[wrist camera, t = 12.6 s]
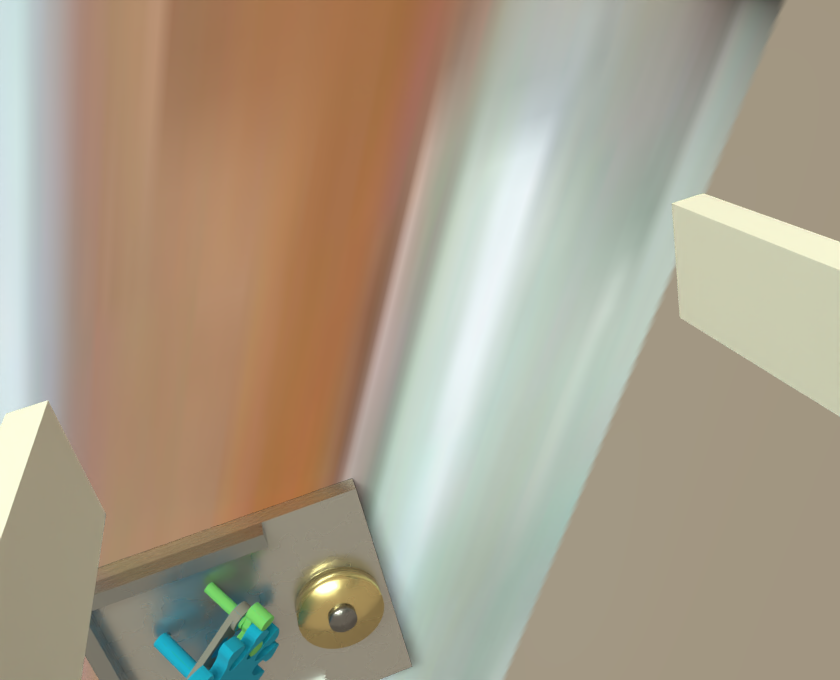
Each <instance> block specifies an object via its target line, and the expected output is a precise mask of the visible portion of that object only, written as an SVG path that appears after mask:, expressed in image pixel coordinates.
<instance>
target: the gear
mask: <svg viewBox="0 0 840 680" xmlns="http://www.w3.org/2000/svg"><path fill="white" fill-rule="evenodd" d="M204 592H205V593H206V594H207V595H208V596H209V597H210V598H211V599H213V600H214V601H215V602H216V603H217V604H218V605H219V606H220V607H221V608H222V609H223V610H224V611H225V612H226V613H227V614H229V616H228V617H227V619H226V620H225V622H224V623H223V624H222V626H221V627H220V629H219V630H218V632H217V633H216V635H215V636H214V638H213V639H212V641H211V642H210V644H209V645H208V647H207V648H206V650H205V651H204V653H203V654H202V656H201V657H200V659H199V660H198V662H196V661H195V660H194V659H193V658H192V657H191V656H190V655H189V654H188V653H187V652H186V651H185V650H184V649H183V648H182V647H181V646H180V645H179V644H178V643H177V642H176V641H175V640H174V639H173V638H172V637H171V636H170V635H169V634H168V633H163V634H162V635H160V636H159V637H158V638H157V640H156V641H155V642H154V647H155V648H156V649H157V650H158V651H159V652H160V653H161V654H162V655H163V656H164V657H165V658H166V659H167V660H168V661H169V662H170V663H171V664H172V665H173V666H174V667H175V668H176V669H177V670H178V671H179V672H180V673H181V674H182V675H183V676H184V677H185V678H186V680H259V679H260V677H261V676H262V675H263V673H264V672H265V671H264V670H263V669H262V668H261V667H260V666H259V665H258V664H259V663H260V662H261V661H262V660H264V661H265V662H266V661H268V660H269V659H270V658H271V657H272V656H273V654H274V653H275V651H276V649H277V647H278V645H279V644H278V643H277V642H276V641H275V640H276V639H277V637H278V635H279V628H278V627H277V626H275V625H274V624H273V623H272V621H273V620H274V616H273V615H272V614H271V613H270V612H268V611H267V610H266V609H265V608H264V607H263V606H262V605H261V604H260V603H259V602H256V603H255V604H253V605H252V606H250V605H249V604H248V603H247V602H246V601H243V602H241V603H240V604H238V605H237V604H236V603H235V602H234V601H233V600H232V599H231V598H230V597H229V596H227V595H226V594H225V593H224V592H223V591H222V590H221V589H220V588H219V587H218V586H217V585H216V584H214V583H213V582H211V583H210V584H209V585H208V586H207V587H206V588H205V590H204ZM240 629H242V631H241V632H240V633H239V635H238V636H237V637H236V636H234V637H233V635H234V634H235V632H236V631H238V630H240Z"/></svg>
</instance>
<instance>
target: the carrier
mask: <svg viewBox="0 0 840 680" xmlns="http://www.w3.org/2000/svg"><path fill="white" fill-rule="evenodd" d="M211 582H213V583H214V584H216V585H217V586H218V587H219V588H220V589H221V590H222V591H223V592H224V593H225V594H226V595H227V596H229V597H230V598H231V599H232V600H233V601H234V602H235V603H236V604H237V605H238V604H240V603H241V602H243V601H246V602H247V603H248V604H249V605H250V606H252V605H253V604H255V603H256V602H259V603H260V604H261V605H262V606H263V607H264V608H265V609H266V610H267V611H268V612H270V613H271V614H272V615H273V616H274V620H273V621H272V623H273V624H274V625H275V626H277V627H278V628H279V635H278V637H277V639H276V640H275V641H276V642H277V643H278V644H279V645H278V647H277V649H276V651H275V653H274V654H273V656H272V657H271V658H270V659H269V660H268V661H266V662H265V661H264V660H262V661H261V662H260V663H259V664H258V665H259V666H260V667H261V668H262V669H263V670H264V671H265V672H264V673H263V675H262V676H261V677H260V679H259V680H379V679H382V678H384V677H387V676H389V675H392V674H394V673H397V672H399V671H402V670H404V669H407V668H409V667H412V664H411V661H410V658H409V655H408V652H407V649H406V645H405V642H404V639H403V636H402V633H401V630H400V627H399V623H398V620H397V617H396V614H395V611H394V608H393V604H392V601H391V598H390V595H389V592H388V589H387V585H386V582H385V579H384V576H383V573H382V570H381V567H380V563H379V560H378V557H377V554H376V551H375V548H374V544H373V541H372V538H371V535H370V532H369V529H368V526H367V522H366V519H365V516H364V513H363V510H362V507H361V503H360V500H359V497H358V494H357V491H356V488H355V485H354V482H353V480H352V479H349V480H346V481H343V482H340V483H337V484H335V485H332V486H329V487H326V488H323V489H320V490H318V491H315V492H312V493H309V494H306V495H303V496H301V497H298V498H295V499H292V500H289V501H287V502H284V503H281V504H278V505H275V506H272V507H270V508H267V509H264V510H261V511H258V512H255V513H253V514H250V515H247V516H244V517H241V518H238V519H236V520H233V521H230V522H227V523H224V524H221V525H219V526H216V527H213V528H210V529H207V530H204V531H202V532H199V533H196V534H193V535H190V536H188V537H185V538H182V539H179V540H176V541H173V542H171V543H168V544H165V545H162V546H159V547H156V548H154V549H151V550H148V551H145V552H142V553H139V554H137V555H134V556H131V557H128V558H125V559H122V560H120V561H117V562H114V563H111V564H108V565H105V566H103V567H100V568H98V571H97V578H96V585H95V591H94V598H93V604H92V611H91V618H90V624H89V631H88V638H87V644H86V651H85V656H86V658H87V660H88V661H89V663H90V665H91V667H92V668H93V670H94V672H95V673H96V675H97V677H98V679H99V680H186V678H185V677H184V676H183V675H182V674H181V673H180V672H179V671H178V670H177V669H176V668H175V667H174V666H173V665H172V664H171V663H170V662H169V661H168V660H167V659H166V658H165V657H164V656H163V655H162V654H161V653H160V652H159V651H158V650H157V649H156V648H155V647H154V642H155V641H156V640H157V638H158V637H159V636H160V635H162V634H163V633H168V634H169V635H170V636H171V637H172V638H173V639H174V640H175V641H176V642H177V643H178V644H179V645H180V646H181V647H182V648H183V649H184V650H185V651H186V652H187V653H188V654H189V655H190V656H191V657H192V658H193V659H194V660H195V661H196V662H198V660H199V659H200V657H201V656H202V654H203V653H204V651H205V650H206V648H207V647H208V645H209V644H210V642H211V641H212V639H213V638H214V636H215V635H216V633H217V632H218V630H219V629H220V627H221V626H222V624H223V623H224V622H225V620H226V619H227V617H228V616H229V614H227V613H226V612H225V611H224V610H223V609H222V608H221V607H220V606H219V605H218V604H217V603H216V602H215V601H214V600H213V599H211V598H210V597H209V596H208V595H207V594H206V593H205V592H204V590H205V588H206V587H207V586H208V585H209V584H210V583H211ZM241 631H242V629H240V630H238V631H236V632H235V634H234V635H233V637H234V636H236V637H237V636H238V635H239V633H240V632H241Z"/></svg>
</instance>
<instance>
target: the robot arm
mask: <svg viewBox="0 0 840 680" xmlns="http://www.w3.org/2000/svg"><path fill="white" fill-rule="evenodd" d="M672 213H673V228H674V242H675V256H676V270H677V284H678V298H679V311H680V318H682V319H683V320H685V321H686V322H688V323H689V324H691V325H693V326H694V327H696V328H697V329H699V330H701V331H702V332H704V333H706V334H707V335H709V336H710V337H712V338H714V339H715V340H717V341H719V342H720V343H722V344H723V345H725V346H726V347H728V348H730V349H732V350H733V351H734V352H736V353H738V354H739V355H741V356H743V357H744V358H746V359H747V360H749V361H751V362H752V363H754V364H756V365H757V366H759V367H760V368H762V369H764V370H765V371H767V372H768V373H770V374H772V375H773V376H775V377H776V378H778V379H780V380H781V381H783V382H784V383H786V384H788V385H789V386H791V387H793V388H794V389H796V390H797V391H799V392H801V393H802V394H804V395H806V396H807V397H809V398H810V399H812V400H814V401H815V402H817V403H819V404H820V405H821V406H823V407H825V408H826V409H828V410H830V411H831V412H833V413H834V414H836V415H838V416H839V417H840V242H839V241H836V240H833V239H831V238H828V237H825V236H822V235H819V234H817V233H814V232H811V231H808V230H805V229H802V228H799V227H797V226H794V225H791V224H788V223H786V222H783V221H780V220H777V219H774V218H771V217H769V216H766V215H763V214H760V213H757V212H755V211H752V210H749V209H746V208H743V207H740V206H738V205H735V204H732V203H729V202H726V201H723V200H721V199H718V198H715V197H712V196H709V195H707V194H704V193H703V194H700V195H697V196H693V197H690V198H687V199H684V200H681V201H678V202H674V203H672ZM105 518H106V513H105V511H104V509H103V508H102V506H101V504H100V502H99V500H98V498H97V496H96V494H95V492H94V490H93V488H92V486H91V484H90V482H89V480H88V478H87V476H86V474H85V472H84V470H83V468H82V466H81V464H80V462H79V460H78V458H77V456H76V455H75V453H74V451H73V449H72V447H71V445H70V443H69V441H68V439H67V437H66V435H65V433H64V431H63V429H62V427H61V425H60V423H59V421H58V419H57V417H56V415H55V413H54V411H53V409H52V407H51V405H50V403H49V401H45V402H42V403H38V404H35V405H32V406H29V407H26V408H23V409H19V410H16V411H13V412H10V413H7V414H6V415H5V417H4V419H3V422H2V424H1V426H0V680H81V678H82V671H83V664H84V658H85V651H86V644H87V638H88V631H89V624H90V618H91V611H92V604H93V598H94V591H95V585H96V578H97V571H98V565H99V558H100V551H101V545H102V538H103V531H104V525H105Z"/></svg>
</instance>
